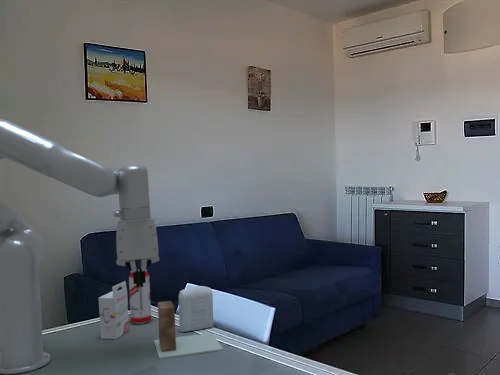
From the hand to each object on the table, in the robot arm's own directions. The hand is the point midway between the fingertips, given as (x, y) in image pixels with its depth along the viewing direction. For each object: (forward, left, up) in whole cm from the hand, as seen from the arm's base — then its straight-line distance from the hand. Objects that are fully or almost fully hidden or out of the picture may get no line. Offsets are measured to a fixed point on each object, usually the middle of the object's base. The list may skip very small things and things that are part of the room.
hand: (139, 286), depth 126 cm
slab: (+6, 0, -16) cm, 18 cm away
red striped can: (+2, +28, -17) cm, 33 cm away
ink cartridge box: (-6, +18, -17) cm, 26 cm away
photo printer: (+17, +14, -17) cm, 28 cm away
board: (+12, 0, -17) cm, 20 cm away
